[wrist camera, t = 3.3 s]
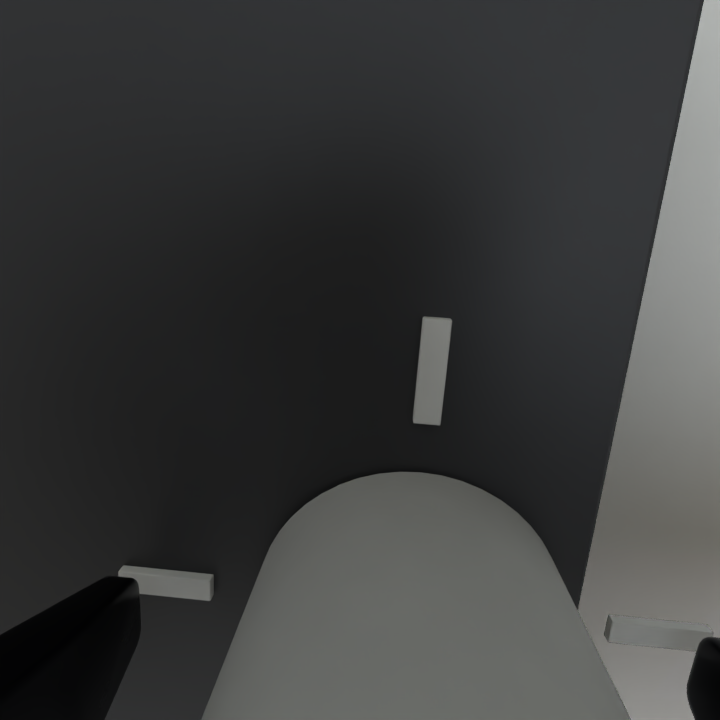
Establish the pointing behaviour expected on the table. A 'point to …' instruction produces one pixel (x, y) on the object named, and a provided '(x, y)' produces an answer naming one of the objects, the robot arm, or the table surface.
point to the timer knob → (411, 615)
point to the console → (312, 283)
